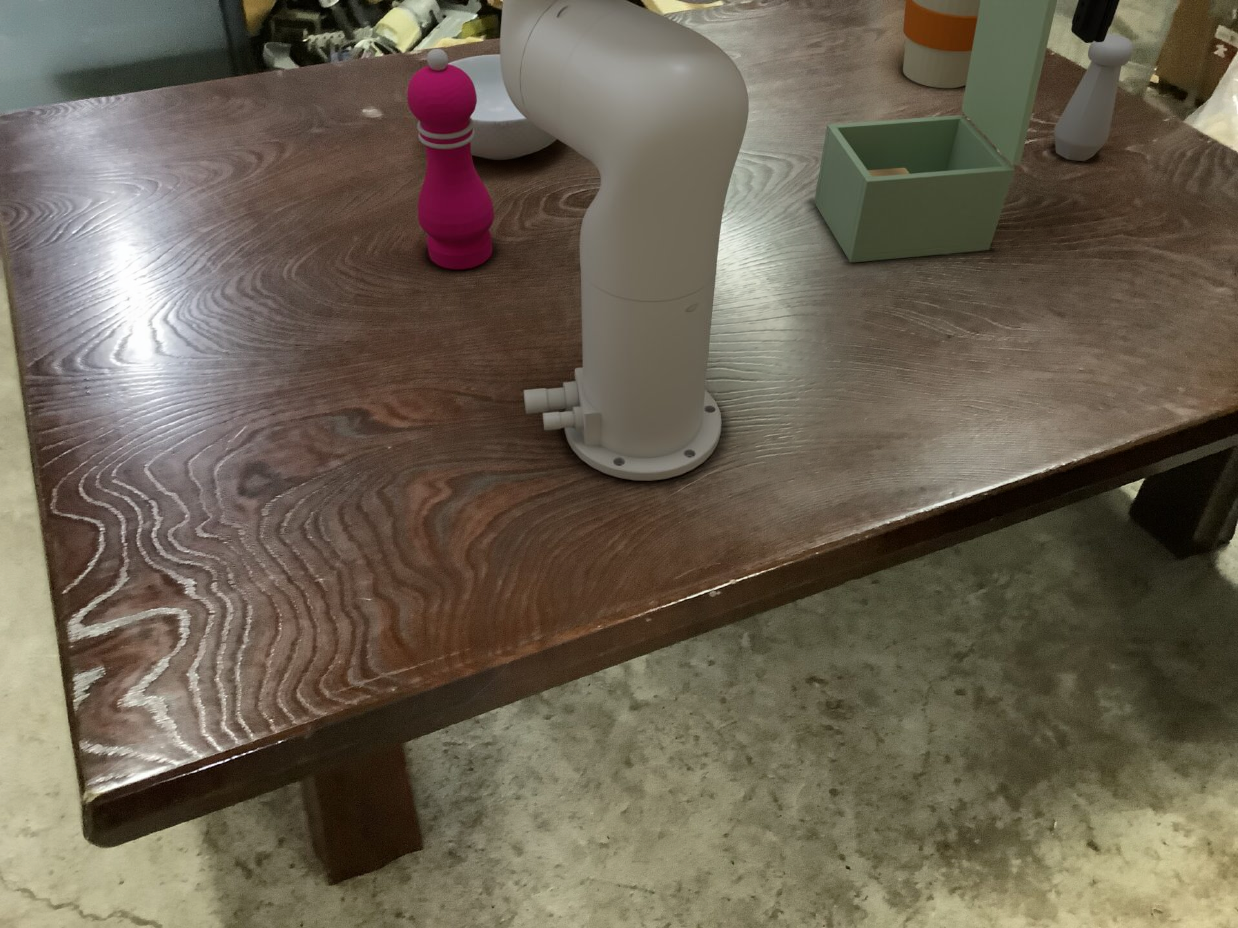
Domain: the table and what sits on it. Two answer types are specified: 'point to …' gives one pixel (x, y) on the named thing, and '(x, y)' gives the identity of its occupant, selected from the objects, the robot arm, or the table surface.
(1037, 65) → the lid
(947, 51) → the reusable coffee cup
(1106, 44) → the salt shaker
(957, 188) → the chest
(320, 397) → the table surface
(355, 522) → the table surface
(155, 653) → the table surface
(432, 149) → the pepper mill
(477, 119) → the cereal bowl
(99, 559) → the table surface
